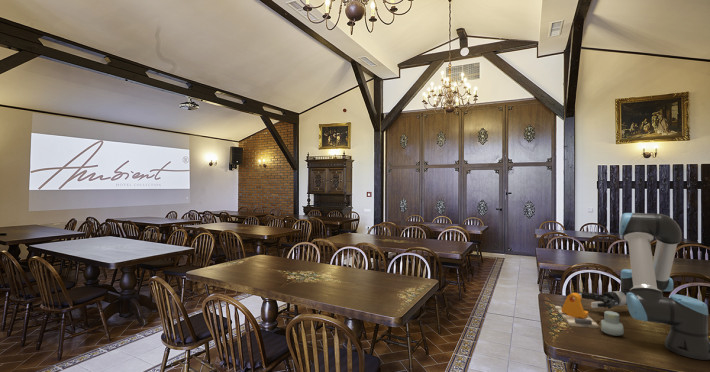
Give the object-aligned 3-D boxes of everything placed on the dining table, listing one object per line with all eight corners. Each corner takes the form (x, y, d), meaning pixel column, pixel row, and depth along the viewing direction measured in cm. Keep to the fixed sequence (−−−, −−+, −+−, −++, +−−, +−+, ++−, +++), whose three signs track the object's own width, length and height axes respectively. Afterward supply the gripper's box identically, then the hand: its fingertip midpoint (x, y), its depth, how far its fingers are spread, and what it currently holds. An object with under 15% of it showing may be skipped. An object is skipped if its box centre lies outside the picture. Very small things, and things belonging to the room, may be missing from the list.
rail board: (599, 328, 172) (599, 322, 172) (569, 325, 176) (569, 319, 176) (580, 310, 197) (580, 304, 197) (554, 307, 201) (554, 302, 201)
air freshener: (600, 327, 173) (600, 307, 173) (620, 331, 169) (620, 311, 169) (602, 335, 164) (602, 314, 164) (624, 339, 160) (624, 318, 160)
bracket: (589, 316, 184) (589, 294, 184) (583, 319, 180) (583, 297, 180) (567, 310, 193) (567, 289, 193) (561, 313, 189) (561, 291, 189)
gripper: (636, 313, 179) (601, 316, 175) (594, 298, 203) (563, 299, 200) (636, 299, 179) (601, 301, 175) (594, 285, 203) (563, 287, 200)
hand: (581, 300), depth 187 cm, fingers open, 13 cm apart
